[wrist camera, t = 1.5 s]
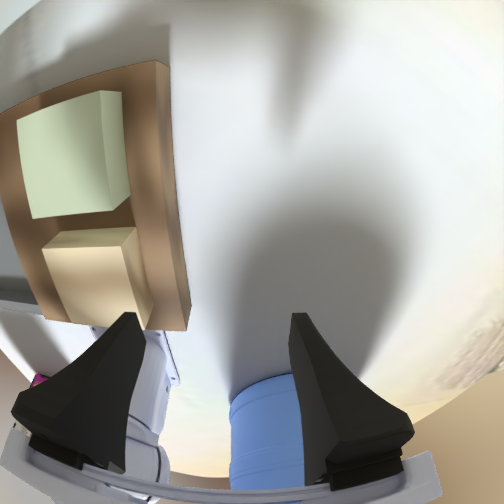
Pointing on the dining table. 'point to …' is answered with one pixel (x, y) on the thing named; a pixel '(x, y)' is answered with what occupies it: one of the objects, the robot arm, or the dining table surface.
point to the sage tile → (75, 156)
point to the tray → (13, 275)
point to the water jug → (267, 437)
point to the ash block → (99, 275)
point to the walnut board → (129, 211)
